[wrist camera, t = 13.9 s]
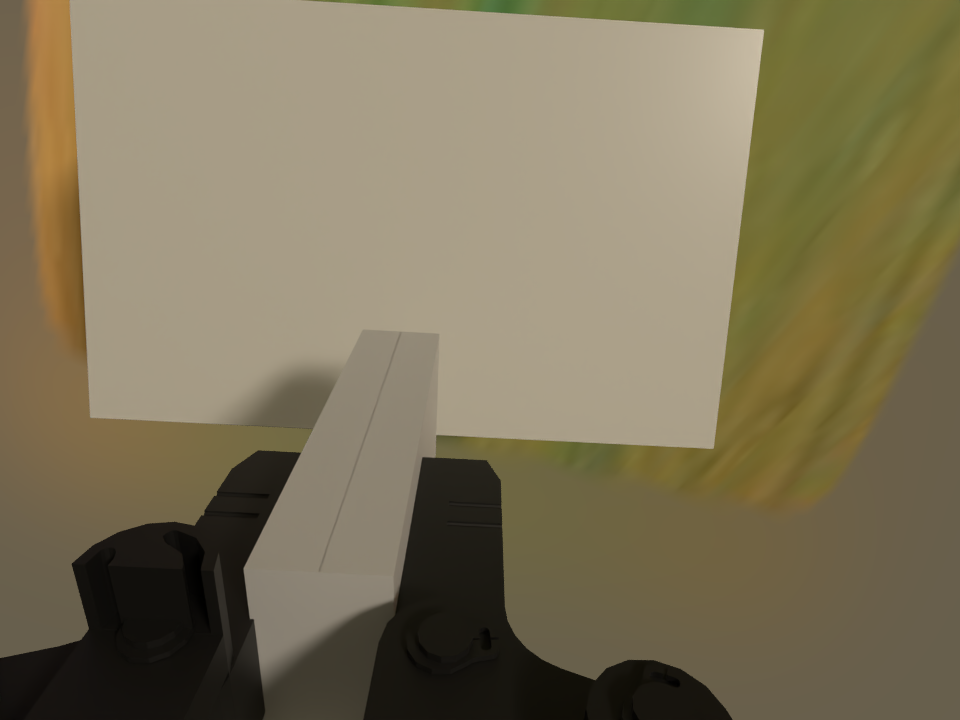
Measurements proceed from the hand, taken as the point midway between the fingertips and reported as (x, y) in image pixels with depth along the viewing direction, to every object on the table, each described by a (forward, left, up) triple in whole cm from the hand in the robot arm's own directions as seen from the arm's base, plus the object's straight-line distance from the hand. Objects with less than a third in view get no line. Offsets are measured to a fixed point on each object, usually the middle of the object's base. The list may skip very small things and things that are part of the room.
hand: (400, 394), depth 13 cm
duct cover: (-1, +2, -5) cm, 6 cm away
